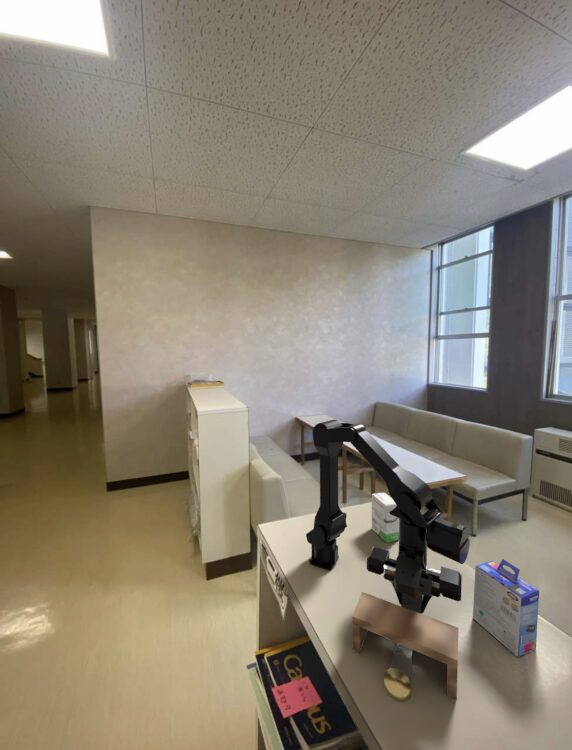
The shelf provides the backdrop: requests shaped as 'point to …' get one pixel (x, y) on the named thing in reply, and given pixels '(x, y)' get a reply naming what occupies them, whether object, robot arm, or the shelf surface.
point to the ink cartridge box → (506, 606)
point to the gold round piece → (397, 685)
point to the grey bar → (402, 653)
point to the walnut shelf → (407, 632)
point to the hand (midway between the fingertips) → (411, 607)
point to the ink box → (384, 517)
